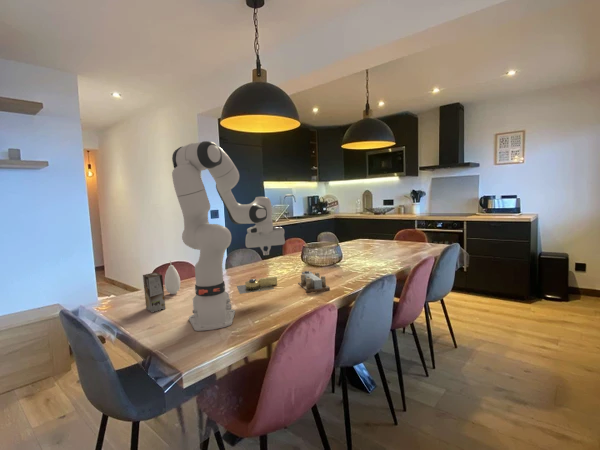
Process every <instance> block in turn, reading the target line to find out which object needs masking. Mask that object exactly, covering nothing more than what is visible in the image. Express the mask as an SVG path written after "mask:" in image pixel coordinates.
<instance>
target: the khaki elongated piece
mask: <svg viewBox="0 0 600 450" xmlns="http://www.w3.org/2000/svg"><path fill="white" fill-rule="evenodd" d="M244 283H245V284H244V285H245V287H246V289H257V288H260V287H262V286H270V285H272V286H276V285H278V277H277V276H268V277H260V278H258V279H256V278H250V279H249V280H246V281H245V282H244Z"/></svg>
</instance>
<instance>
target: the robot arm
mask: <svg viewBox="0 0 600 450" xmlns="http://www.w3.org/2000/svg"><path fill="white" fill-rule="evenodd" d="M171 158H172V160H171V161H172V166H173V169H172V172H171V174H172V175H171V176H172V182H173V187H174V191H175V195H176V197H177V200H178V203H179V206H180V209H181V213H182V216H183V227H184V228H183V231H182V235H181V239H182V242H183V244H184V245H185V246H187V247H188V248H190V249H192V250H193V249H194V250H199V257H198V261H197V262H196V264H195V265H194V275H195V284H194V290H195V292H194V293H195V296H194V297H193V298H192V315H190V316H188V320H189V322H190V324H191V326H192V328H193V330H194V331H196V332H197V331H199V332H200V331H201V332H203V331H212V330H217V329H222V328H226V327H229V326H231V325H232V324H233V323H234V322H233V321H234V318H235V315H236V309H235V308H234V309H232V303H231V298H230V294H229V292H227V291H226V284H225V283H226V282H225V281H224V271H223V269H224V268H223V262H224V261H223V260H224V256H225V253H226V250H227V249H228V248H229V247H230V245H231V243H232V233H231V231H230V229H228V227H226V226H223V225H221V224H217V223H210V222H209V211H210V209H211V203H210V200H209V198H208V197H209V196H208V194H207V190H206V188H205V185H204V182H203V180H202V178H201V176H202V175H201V174H202V173H201V172H202V171H206V170H208V172H209V174H210V175H211V177H212V178H213V180H214V182H215V188H216V192H217V194H218V196H219V197H220V199H221V201H222V203H223V206H224V207H225V209H226V211H227V215H228V218H229V219H230V222H231V223H232V224H234V225H243V224H244V225H247V224H250V225H251V224H255V225H253V226H250V227H248V228H247V229H246V232H247V234H246V235H245V247H246V248H247V249H251V248H260V250H261V251H262V254H263V256H269V255H270V250H271V248H272V246H282V245H285V243H286V240H285V229H284V228H283V227H281V226H279V227H277V226H275V227H274V224H273V223H274V222H273V218H272V216H273V208H272V202H271V199H270V198H269V197H267V196H256V197H255V199H254V200H253V201H252V202H250V203H247V204H244V203H243V204H242V203H239V202H237V200H236V198H235V196H234V194H233V192H232V189H233V188H235V187H236V186H237V184H238V182H239V181H240V172H239V170H238V168H237V166H236V165H235V163H234V162H233V160H232V159H231V158H230V156H229V155H228V154H227V152H226V151H224V150H223V148H221V146H218V145H217V144H216V143H215V142H214V141H209V140H208V141H207V140H206V141H205V140H204V141H202V142H193V143H192V142H191V143H189V144H186V145H184V146H180V147H178V148H177V149H174V151H173V153H172V157H171ZM264 247H267V250H264Z"/></svg>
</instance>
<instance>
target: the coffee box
mask: <svg viewBox="0 0 600 450" xmlns="http://www.w3.org/2000/svg"><path fill="white" fill-rule="evenodd" d="M142 280H143V288H144V289H143V291H144V298H145V299H144V300H145V308H146V310H148V311H149V310H150V311H149V312H151V313H155V312H159V311H162V310H161V309H163V310H166V301H165V300H166V299H165V289H164V279H163V274H161V273H159V272H151V273H146V274H142ZM158 310H159V311H158ZM154 311H155V312H154Z"/></svg>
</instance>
